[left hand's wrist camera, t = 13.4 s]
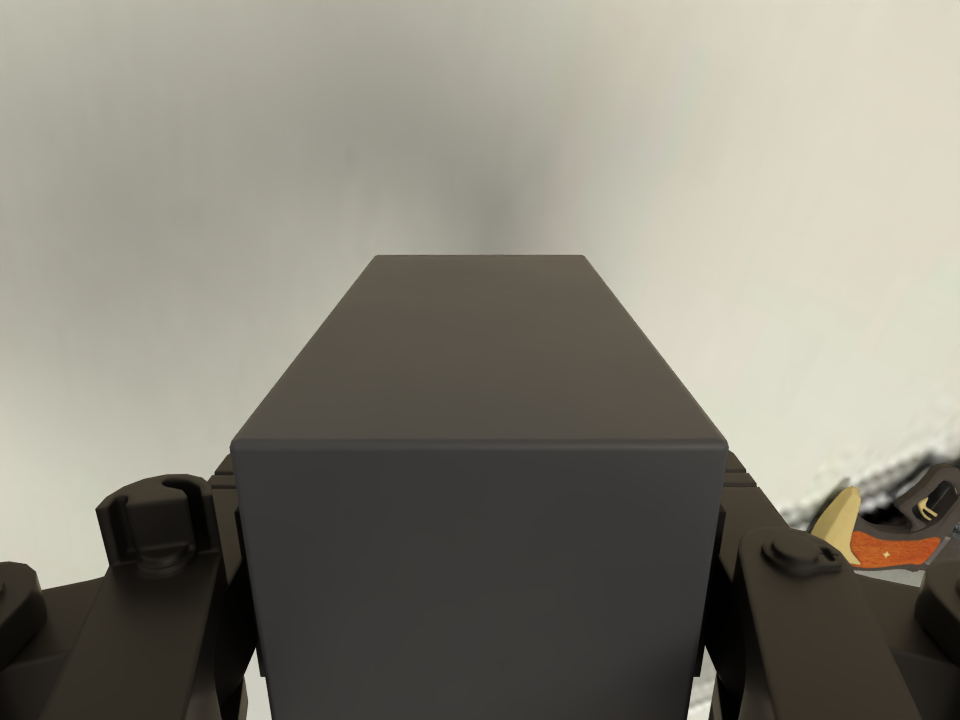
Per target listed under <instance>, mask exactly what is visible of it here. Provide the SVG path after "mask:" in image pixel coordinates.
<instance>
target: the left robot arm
mask: <svg viewBox="0 0 960 720" xmlns="http://www.w3.org/2000/svg"><path fill="white" fill-rule="evenodd" d="M95 510H96V514H97V518H98V522H99V526H100V530H101V534H102V538H103V542H104V546H105V550H106V554H107V558H108V562H109V568H108V570H107V572H106V574H105V576H104V577H100V578H97V579H93V580H89V581H84V582H79V583H74V584H69V585H65V586H60V587H55V588H50V589H45V590H41V587H40V584H39V581H38V577H37V574H36V571H34V570H33V569H32V568H31V567H29V566H28V565H27V564H22V563H16V562H9V561H8V562H0V720H246V716H247V707H248V697H247V690H246V684H245V678H244V674H245V671H246V669H247V667H248V664H249V662H250V660H251V657H252V655H253V653H254V650H255V648H256V651H257V658H258V664H259V670H260V676H261V677H265V672H264V665H263V659H262V652H261V646H260V640H259V633H258V627H257V620H256V614H255V607H254V601H253V595H252V588H251V582H250V575H249V569H248V563H247V556H246V550H245V543H244V537H243V531H242V524H241V518H240V511H239V505H238V499H237V492H236V486H235V479H234V473H233V467H232V460H231V454H229V455H227V456H226V458H225V459H224V460H223V462H222V463H221V464H220V466H219V467H218V468H217V470H216V471H215V475H212V476H211V478H210V479H209V480H208V482H207V481H206V480H204V479H203V478H201V477H197V476H193V475H188V474H166V475H161V476H156V477H151V478H146V479H143V480H140V481H137V482H135V483H132V484H129V485H127V486H124V487H122V488H121V489H119V490H117V491H116V492H114V493H112V494H111V495H109V496H107V497H106V498H105V499H104V500H103V501H102V502H101V503H100V505H99V506H98V507H97V508H96V509H95ZM705 646H706V648H707V651H708V653H709V655H710V658H711V660H712V662H713V665H714V667H715V669H716V672H717V673H716V678H715V684H714V690H713V696H712V702H711V707H710V713H709V719H708V720H960V559H947V560H940V561H935V562H934V563H932V564H931V565H930V566H929V567H927V568H926V569H925V572H924V576H923V579H922V582H921V586H920V587H915V586H910V585H905V584H900V583H895V582H890V581H885V580H880V579H875V578H871V577H867V576H863V575H859V574H856V573H854V571H853V569H852V566H851V564H850V563H849V562H848V561H847V559H846V558H845V557H844V555H843V554H842V553H841V552H840V551H839V550H838V549H836V548H835V547H833V546H832V545H831V544H829V543H828V542H826V541H825V540H823V539H821V538H818V537H816V536H814V535H812V534H809V533H807V532H805V531H801V530H796V529H792V528H790V527H789V526H788V524H787V523H786V522H785V520H784V519H783V518H782V516H781V515H780V514H779V513H778V511H777V510H776V509H775V507H774V506H773V505H772V503H771V502H770V501H769V499H768V498H767V497H766V495H765V494H764V493H763V491H762V490H761V489H760V487H757V483H756V482H755V481H754V479H753V478H752V477H751V476H750V474H749V473H746V469H745V468H744V466H743V465H742V464H741V462H740V461H739V460H738V458H737V457H736V456H735V454H734V453H732V452H731V451H729V450H728V457H727V463H726V470H725V476H724V483H723V489H722V496H721V502H720V508H719V515H718V521H717V528H716V534H715V541H714V547H713V554H712V560H711V567H710V573H709V580H708V586H707V592H706V599H705V605H704V612H703V618H702V625H701V631H700V638H699V644H698V651H697V657H696V664H695V670H694V676H693V677H700V673H701V666H702V660H703V654H704V648H705Z"/></svg>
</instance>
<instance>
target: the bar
mask: <svg viewBox="0 0 960 720" xmlns="http://www.w3.org/2000/svg"><path fill="white" fill-rule="evenodd" d="M728 450H729V446H728V443H727V440H726V439H725V438H724V436H723V435H722V434H721V432H720V431H719V430H718V429H717V427H716V426H715V425H714V423H713V422H712V421H711V419H710V418H709V417H708V416H707V414H706V413H705V412H704V410H703V409H702V408H701V407H700V405H699V404H698V403H697V401H696V400H695V399H694V397H693V396H692V395H691V394H690V392H689V391H688V390H687V388H686V387H685V386H684V384H683V383H682V382H681V381H680V379H679V378H678V377H677V375H676V374H675V373H674V372H673V370H672V369H671V368H670V366H669V365H668V364H667V362H666V361H665V360H664V359H663V357H662V356H661V355H660V353H659V352H658V351H657V350H656V348H655V347H654V346H653V344H652V343H651V342H650V340H649V339H648V338H647V337H646V335H645V334H644V333H643V331H642V330H641V329H640V328H639V326H638V325H637V324H636V322H635V321H634V320H633V318H632V317H631V316H630V315H629V313H628V312H627V311H626V309H625V308H624V307H623V305H622V304H621V303H620V302H619V300H618V299H617V298H616V296H615V295H614V294H613V293H612V291H611V290H610V289H609V287H608V286H607V285H606V283H605V282H604V281H603V280H602V278H601V277H600V276H599V274H598V273H597V272H596V271H595V269H594V268H593V267H592V265H591V264H590V263H589V261H588V260H587V259H586V258H585V256H583V255H377V256H375V257H374V258H373V259H372V261H371V262H370V263H369V264H368V266H367V267H366V268H365V270H364V271H363V272H362V273H361V275H360V276H359V277H358V279H357V280H356V281H355V282H354V284H353V285H352V286H351V288H350V289H349V290H348V291H347V293H346V294H345V295H344V297H343V298H342V299H341V300H340V302H339V303H338V304H337V306H336V307H335V308H334V310H333V311H332V312H331V313H330V315H329V316H328V317H327V319H326V320H325V321H324V322H323V324H322V325H321V326H320V328H319V329H318V330H317V331H316V333H315V334H314V335H313V337H312V338H311V339H310V340H309V342H308V343H307V344H306V346H305V347H304V348H303V349H302V351H301V352H300V353H299V355H298V356H297V357H296V358H295V360H294V361H293V362H292V364H291V365H290V366H289V367H288V369H287V370H286V371H285V373H284V374H283V375H282V376H281V378H280V379H279V380H278V382H277V383H276V384H275V386H274V387H273V388H272V389H271V391H270V392H269V393H268V395H267V396H266V397H265V398H264V400H263V401H262V402H261V404H260V405H259V406H258V407H257V409H256V410H255V411H254V413H253V414H252V415H251V416H250V418H249V419H248V420H247V422H246V423H245V424H244V425H243V427H242V428H241V429H240V431H239V432H238V433H237V434H236V436H235V437H234V438H233V440H232V441H231V444H230V454H231V460H232V467H233V473H234V479H235V486H236V492H237V499H238V505H239V511H240V518H241V524H242V531H243V537H244V543H245V550H246V556H247V563H248V569H249V575H250V582H251V588H252V595H253V601H254V607H255V614H256V620H257V627H258V633H259V640H260V646H261V652H262V659H263V665H264V672H265V678H266V684H267V691H268V697H269V704H270V710H271V716H272V720H687V715H688V709H689V702H690V696H691V689H692V683H693V676H694V670H695V664H696V657H697V651H698V644H699V638H700V631H701V625H702V618H703V612H704V605H705V599H706V592H707V586H708V580H709V573H710V567H711V560H712V554H713V547H714V541H715V534H716V528H717V521H718V515H719V508H720V502H721V496H722V489H723V483H724V476H725V470H726V463H727V457H728Z"/></svg>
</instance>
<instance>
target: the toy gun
mask: <svg viewBox="0 0 960 720" xmlns="http://www.w3.org/2000/svg"><path fill="white" fill-rule="evenodd" d="M942 481H947V483H948V485H949V490H948V491H947V492H946V493H945V495H944V496H943V497H942V498H941V500H940V501H939V502H938V503H937V505H936V506H935V507H934V508H933V510H930V509H928V508H927V507H926V502H927V500H928V497H927V496H928V495H929V494H930V493H931V492H933V491H934V490H935V488H936V487H937V486H938V485H939V484H940V483H941V482H942ZM860 502H861V498H860V493H859V490H858V488H856V487H853V486H851V487H848V488H846V489H844V490H843V491H842V492H841V493H840V494H839V495H838V496H837V497H836V498H835V499H834V501H833V502H832V503H831V504H830V505H829V506H828V508H827V509H826V510H825V511H824V512H823V514H822V515H821V516H820V518H819V519H818V521H817V522H816V524H815V526H814V528H813V530H812V532H811V534H812V535H814V536H816V537H818V538H821V539H823V540H825V541H826V542H828V543H829V544H831V545H832V546H833V547H835V548H836V549H838V550H839V551H840V552H841V553H842V554H843V555H844V557H845V558H846V559H847V561H848V562H849V563H850V564H851V566H852V569H853V570H861V571H878V570H891V569H906V570H909V571H912V572H914V571H918V570H924V571H925V569H926V568H927V567H929V566H930V565H931V564H932V563H934V562H935V561H940V560H947V559H960V531H958V530H959V529H958V526H957V524H958V523H959V522H960V469H957V468H956V467H954V466H952V465H949V464H937V465H934V466H932V467H931V468H930V469H929V470H928V472H927V473H926V474H925V476H924V477H923V478H922V479H921V480H920V481H919V482H918V483H917V484H916V485H915V486H914V487H913V488H911V489H910V490H909V491H907V492H906V493H905V494H903V495H902V496H900V497H899V498H898V499H896V500H895V501H894V503H893V504H894V506H895V507H896V508H897V509H898V510H900V511H901V512H902V513H903V514H904V515H905V516H906V518H907V523H906V524H905V525H901V526H891V525H879V524H872V523H870V522H867V521H866V520H864V519H863V518H861V517H860V516H859V513H858V511H859V507H860ZM916 504H917V506H918V509H919V511H920V513H921V514H922V515H923V516H924V517H923V518H921V519H919V518H917V517H915V516H914V514H913V512H912V508H913V507H914V506H915V505H916ZM923 508H924V509H925V510H926V511H928V512H929V514H927V515H925V514H924V512H923ZM954 528H955V529H954Z"/></svg>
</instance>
